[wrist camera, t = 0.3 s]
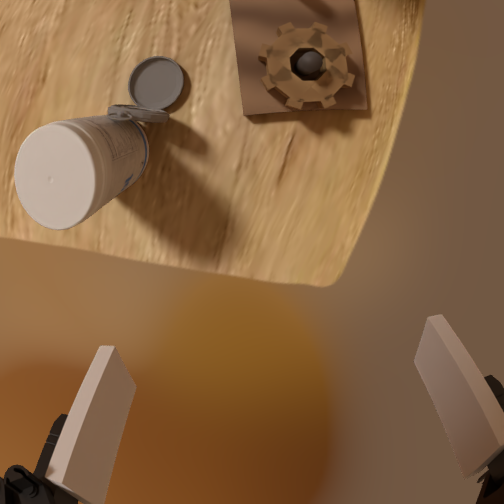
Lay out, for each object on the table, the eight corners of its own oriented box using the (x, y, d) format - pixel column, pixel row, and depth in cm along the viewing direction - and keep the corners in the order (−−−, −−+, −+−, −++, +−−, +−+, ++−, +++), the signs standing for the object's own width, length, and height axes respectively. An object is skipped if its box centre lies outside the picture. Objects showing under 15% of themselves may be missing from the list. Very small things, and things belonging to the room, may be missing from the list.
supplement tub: (117, 202, 37) (58, 254, 24) (72, 152, 33) (-2, 183, 20) (167, 150, 34) (119, 180, 21) (118, 96, 31) (48, 99, 18)
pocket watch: (174, 48, 28) (147, 30, 20) (197, 111, 32) (178, 113, 23) (113, 77, 30) (70, 73, 21) (135, 137, 33) (98, 150, 24)
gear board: (223, -51, 22) (218, -76, 16) (337, -53, 21) (352, -74, 16) (244, 115, 32) (242, 117, 27) (362, 109, 32) (384, 111, 26)
